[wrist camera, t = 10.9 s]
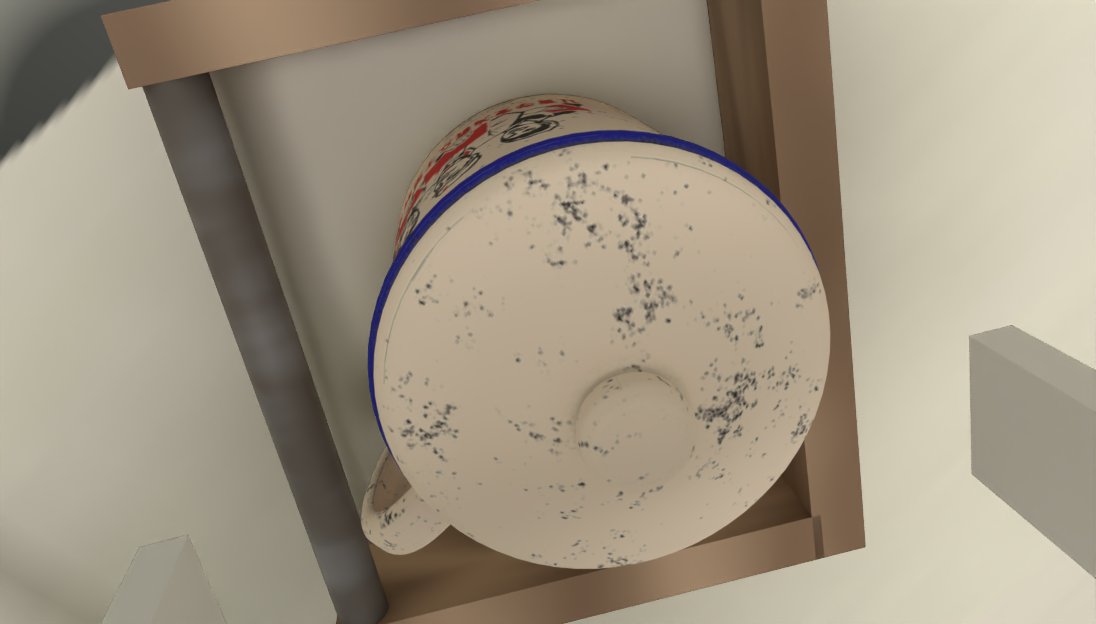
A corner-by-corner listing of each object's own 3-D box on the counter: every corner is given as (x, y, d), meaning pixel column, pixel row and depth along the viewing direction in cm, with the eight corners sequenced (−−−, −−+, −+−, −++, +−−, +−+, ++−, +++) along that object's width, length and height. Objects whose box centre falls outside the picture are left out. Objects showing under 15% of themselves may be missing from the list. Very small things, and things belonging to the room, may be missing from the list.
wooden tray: (360, 585, 28) (349, 677, 24) (158, 11, 21) (100, 15, 17) (808, 474, 28) (865, 547, 25) (751, -115, 22) (816, -137, 18)
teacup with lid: (537, 9, 22) (639, 25, 11) (763, 228, 25) (1017, 406, 14) (258, 339, 24) (121, 616, 13) (497, 504, 27) (542, 841, 16)
